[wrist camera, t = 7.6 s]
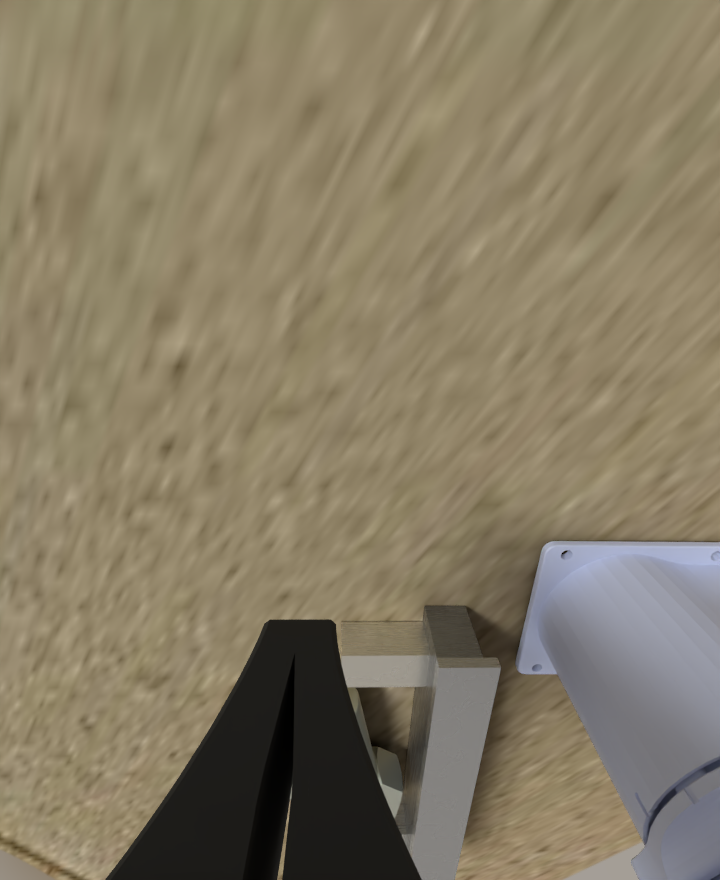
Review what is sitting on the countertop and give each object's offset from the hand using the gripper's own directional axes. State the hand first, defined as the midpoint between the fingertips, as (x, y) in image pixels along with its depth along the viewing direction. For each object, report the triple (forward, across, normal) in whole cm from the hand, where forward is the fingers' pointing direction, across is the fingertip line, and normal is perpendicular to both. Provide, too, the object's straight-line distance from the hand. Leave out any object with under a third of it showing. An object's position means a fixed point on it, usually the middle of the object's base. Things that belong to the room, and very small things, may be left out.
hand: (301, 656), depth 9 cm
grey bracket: (+10, -4, +17) cm, 20 cm away
